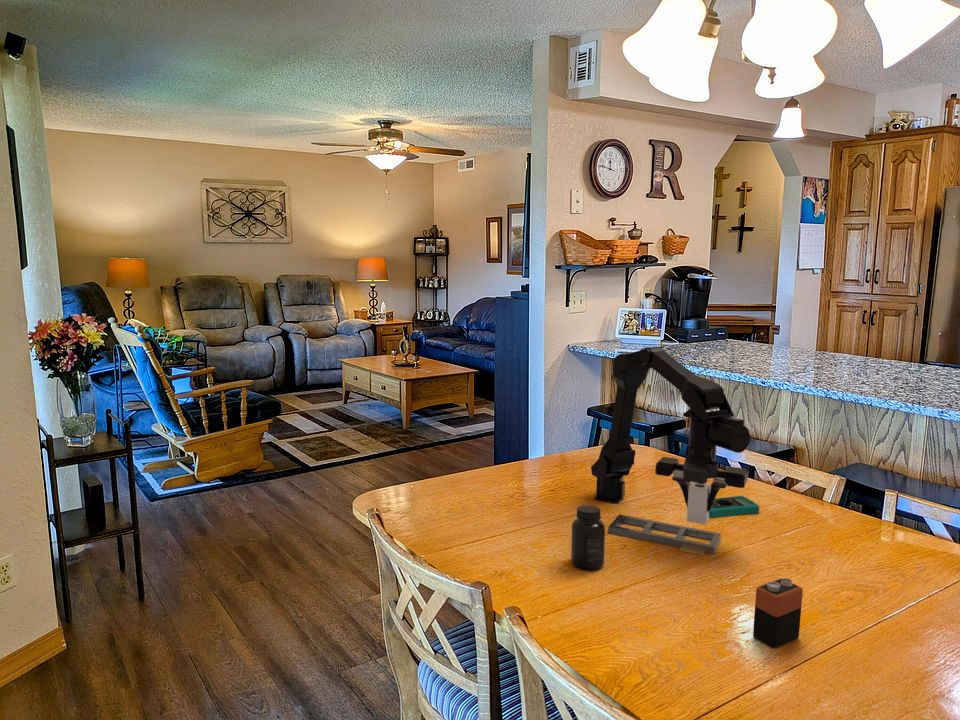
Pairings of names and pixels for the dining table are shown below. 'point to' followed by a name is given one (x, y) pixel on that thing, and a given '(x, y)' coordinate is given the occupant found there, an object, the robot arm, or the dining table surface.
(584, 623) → the dining table surface
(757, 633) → the battery
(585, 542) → the supplement bottle
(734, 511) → the digital multimeter
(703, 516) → the grey tall square block
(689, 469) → the robot arm
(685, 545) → the rail frame
